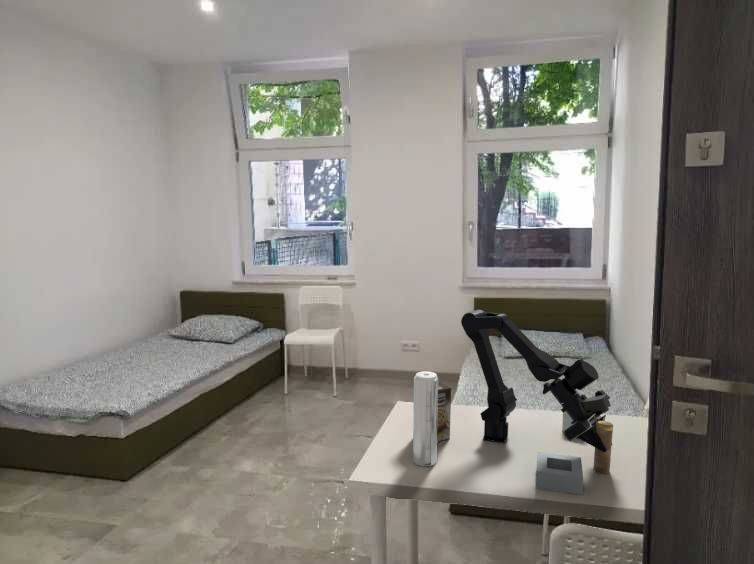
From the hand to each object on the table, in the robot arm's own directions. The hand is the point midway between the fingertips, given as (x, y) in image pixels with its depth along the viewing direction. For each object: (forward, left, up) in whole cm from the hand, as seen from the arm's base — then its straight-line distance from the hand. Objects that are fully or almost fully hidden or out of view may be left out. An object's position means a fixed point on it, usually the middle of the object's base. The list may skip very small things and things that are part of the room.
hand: (608, 448), depth 146 cm
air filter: (-47, -8, -7) cm, 49 cm away
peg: (-1, +1, -7) cm, 7 cm away
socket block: (-12, -8, -7) cm, 16 cm away
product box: (-7, +26, -7) cm, 27 cm away
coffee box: (-48, +7, -7) cm, 49 cm away
